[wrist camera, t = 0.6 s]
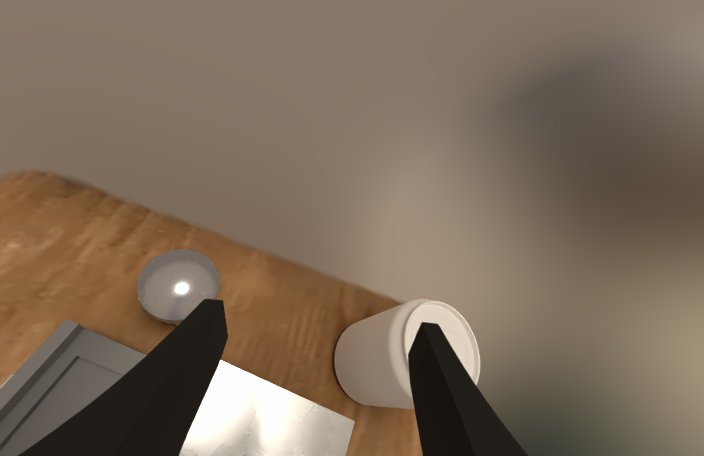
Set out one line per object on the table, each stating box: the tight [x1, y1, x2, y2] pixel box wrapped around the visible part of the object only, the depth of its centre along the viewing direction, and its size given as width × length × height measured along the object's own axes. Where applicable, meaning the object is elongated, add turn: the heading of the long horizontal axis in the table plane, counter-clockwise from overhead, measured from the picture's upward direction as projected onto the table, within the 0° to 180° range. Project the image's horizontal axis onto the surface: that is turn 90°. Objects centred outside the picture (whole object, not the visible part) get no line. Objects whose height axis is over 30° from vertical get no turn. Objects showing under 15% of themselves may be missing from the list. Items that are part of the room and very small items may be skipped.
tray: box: [0, 319, 147, 456], centre depth 19 cm, size 11×12×3 cm
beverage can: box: [334, 299, 480, 409], centre depth 27 cm, size 8×8×12 cm
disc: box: [137, 250, 220, 324], centre depth 23 cm, size 5×5×2 cm
